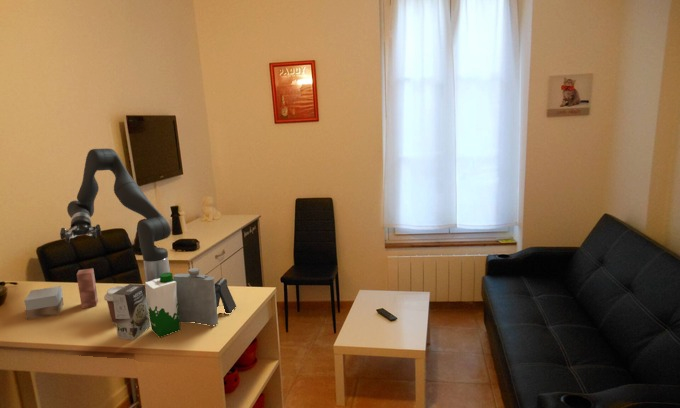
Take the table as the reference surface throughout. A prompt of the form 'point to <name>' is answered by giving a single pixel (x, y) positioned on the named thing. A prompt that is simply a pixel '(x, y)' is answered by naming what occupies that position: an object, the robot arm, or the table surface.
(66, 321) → the table surface
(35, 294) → the tower middle block
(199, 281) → the hip flask
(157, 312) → the milk carton
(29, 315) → the tower base
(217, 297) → the phone stand
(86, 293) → the tall block
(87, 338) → the table surface
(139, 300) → the coffee box
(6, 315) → the table surface
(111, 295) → the coffee cup
